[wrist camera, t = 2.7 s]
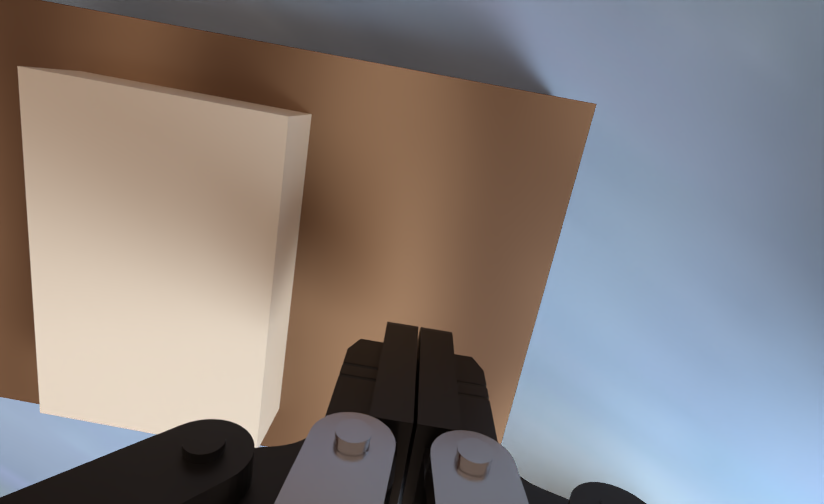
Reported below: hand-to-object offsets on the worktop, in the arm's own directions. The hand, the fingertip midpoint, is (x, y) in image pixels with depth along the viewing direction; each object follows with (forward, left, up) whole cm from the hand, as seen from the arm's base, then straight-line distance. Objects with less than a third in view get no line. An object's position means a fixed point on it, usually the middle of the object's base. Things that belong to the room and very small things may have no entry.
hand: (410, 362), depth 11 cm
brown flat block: (+5, 0, -7) cm, 8 cm away
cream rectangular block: (+7, 0, -3) cm, 7 cm away
